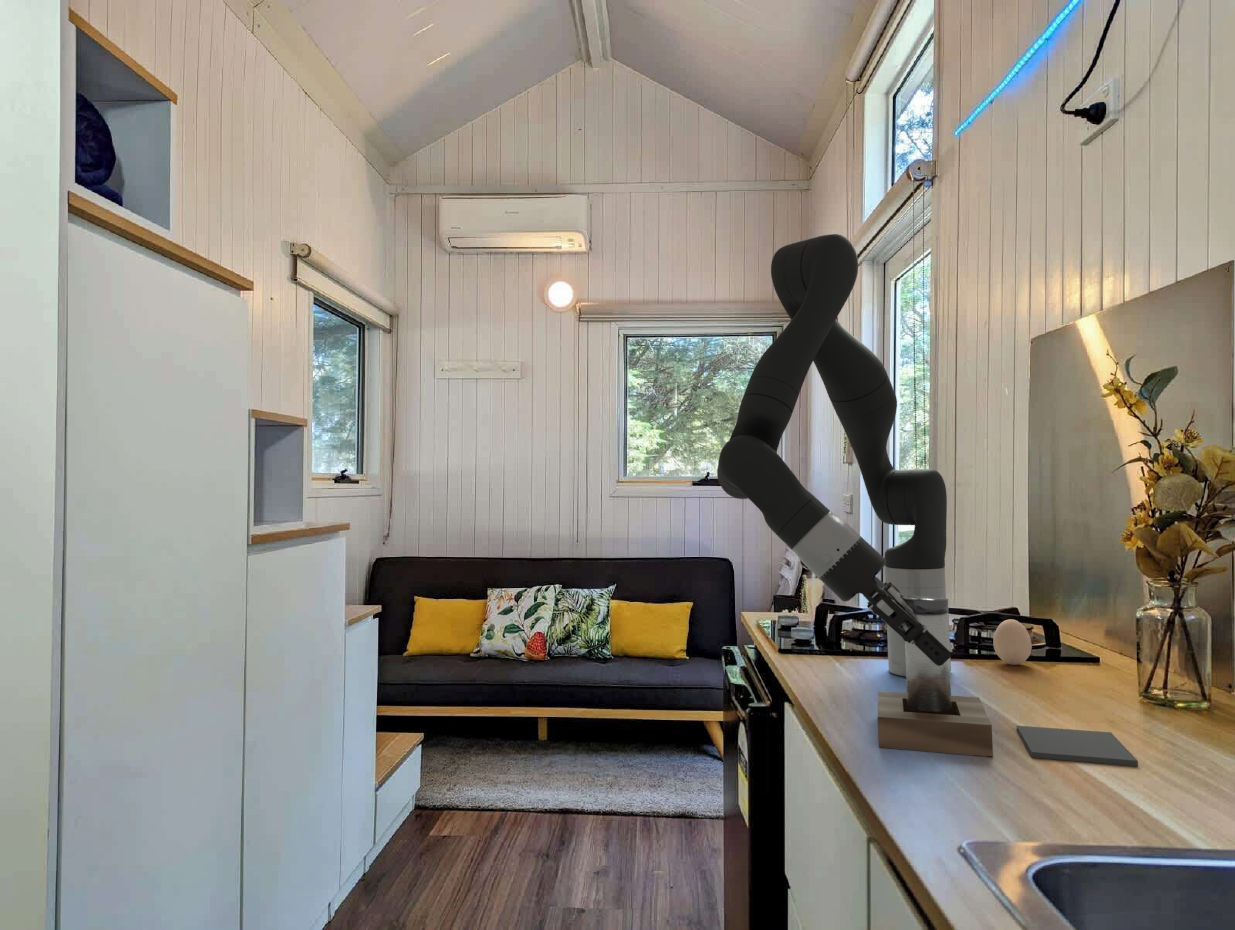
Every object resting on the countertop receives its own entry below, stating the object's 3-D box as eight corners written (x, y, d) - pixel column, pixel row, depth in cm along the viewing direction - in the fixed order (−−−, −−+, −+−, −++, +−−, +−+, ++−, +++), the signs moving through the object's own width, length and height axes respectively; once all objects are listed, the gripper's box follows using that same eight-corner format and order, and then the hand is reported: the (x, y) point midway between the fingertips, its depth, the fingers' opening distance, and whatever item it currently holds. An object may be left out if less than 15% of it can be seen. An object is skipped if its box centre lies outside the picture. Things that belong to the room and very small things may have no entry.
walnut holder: (879, 718, 99) (878, 691, 99) (980, 725, 95) (978, 697, 95) (878, 747, 87) (877, 716, 87) (993, 757, 83) (991, 725, 83)
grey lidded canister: (921, 697, 95) (918, 594, 96) (960, 706, 91) (956, 598, 92) (898, 705, 92) (894, 598, 93) (937, 714, 88) (933, 602, 89)
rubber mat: (1016, 730, 92) (1016, 725, 92) (1111, 737, 89) (1110, 732, 89) (1031, 757, 83) (1031, 751, 83) (1138, 766, 80) (1137, 760, 80)
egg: (1033, 669, 123) (1031, 622, 124) (994, 666, 126) (992, 621, 126) (1031, 662, 129) (1029, 617, 129) (993, 659, 131) (992, 616, 131)
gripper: (857, 538, 88) (974, 646, 84) (860, 531, 102) (961, 624, 97) (812, 582, 90) (924, 691, 85) (821, 570, 103) (919, 663, 99)
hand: (943, 655), depth 91 cm, fingers closed on grey lidded canister, 5 cm apart
